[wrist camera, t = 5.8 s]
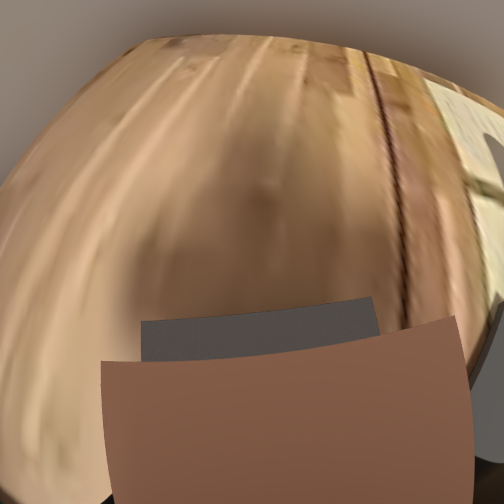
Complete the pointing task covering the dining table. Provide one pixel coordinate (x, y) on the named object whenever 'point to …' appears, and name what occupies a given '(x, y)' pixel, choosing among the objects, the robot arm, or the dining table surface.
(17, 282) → the dining table surface
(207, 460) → the peg
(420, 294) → the dining table surface
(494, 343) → the mat
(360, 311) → the socket block
